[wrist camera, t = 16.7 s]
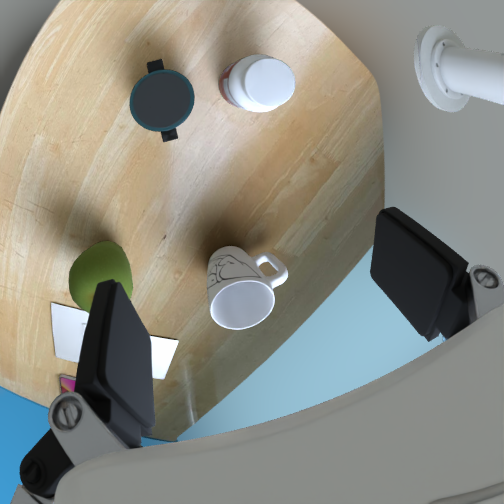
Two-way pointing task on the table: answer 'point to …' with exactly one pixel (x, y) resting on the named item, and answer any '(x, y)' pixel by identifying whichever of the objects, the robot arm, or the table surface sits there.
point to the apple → (98, 272)
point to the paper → (72, 331)
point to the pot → (162, 100)
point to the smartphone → (67, 383)
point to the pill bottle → (257, 83)
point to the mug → (241, 287)
